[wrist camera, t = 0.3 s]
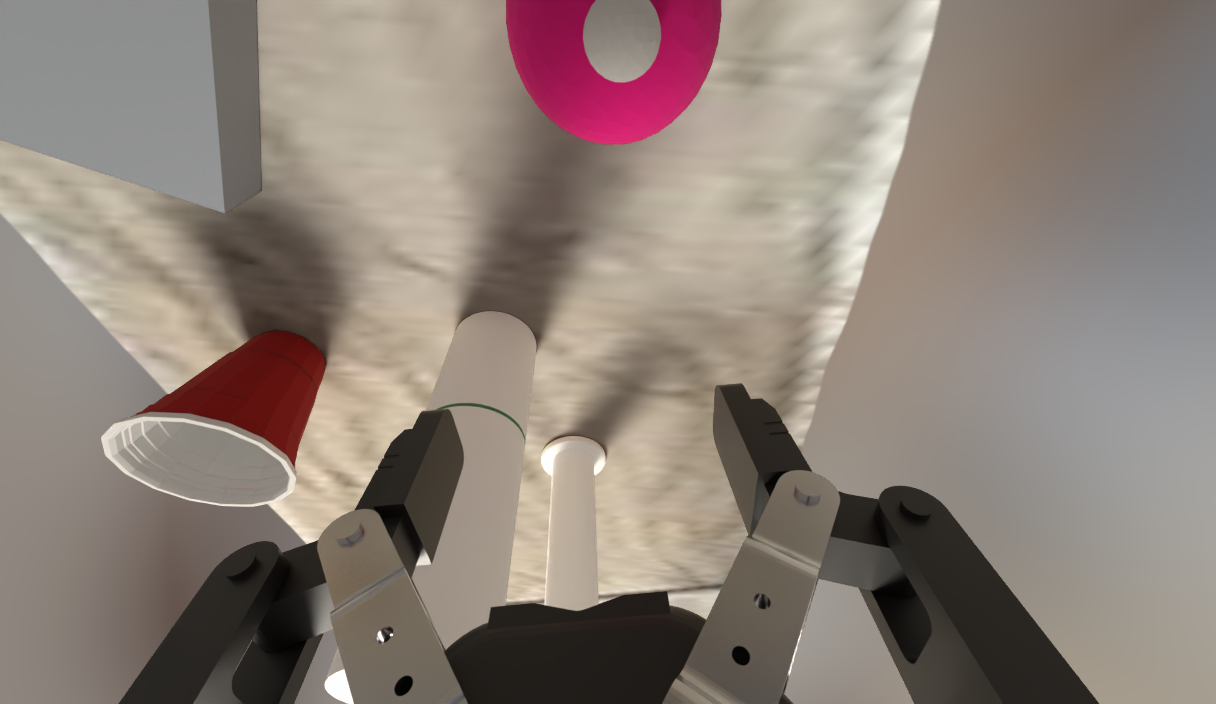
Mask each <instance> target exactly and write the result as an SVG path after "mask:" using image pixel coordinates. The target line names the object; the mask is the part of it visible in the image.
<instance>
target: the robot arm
mask: <svg viewBox="0 0 1216 704" xmlns="http://www.w3.org/2000/svg"><path fill="white" fill-rule="evenodd" d="M713 434H714V440H715V444H716V447H717V450H718V453H719V456H720V458H721V461H722V464H723V466H724V469H725V472H726V475H727V477H728V480H729V483H730V486H731V488H732V491H733V494H734V496H735V499H736V502H737V505H738V507H739V510H740V513H741V516H742V518H743V521H744V524H745V526H746V529H747V532H748V535H749V536H747V537H746V539H745V540H744V542H743V544H742V546H741V548H740V550H739V553H738V555H737V557H736V559H735V561H734V563H733V565H732V567H731V569H730V571H729V574H728V576H727V578H726V580H725V582H724V584H723V586H722V588H721V590H720V593H719V595H718V597H717V599H716V601H715V603H714V605H713V607H712V609H711V611H710V614H709V616H708V618H707V620H706V619H704V618H702V617H701V616H699V615H697V614H695V613H693V612H691V611H688V610H685V609H682V608H679V607H675V606H670V605H669V601H668V594H667V591H665V592H654V593H643V594H631V595H623V596H620V597H617V598H615V599H612V600H609V601H606V602H603V603H601V604H598V605H595V606H592V607H590V608H587V609H584V610H580V611H574V610H568V609H563V608H558V607H552V606H547V605H541V604H536V603H531V604H520V605H508V606H497V607H491V609H490V615H489V620H488V623H485V624H483V625H481V626H479V627H477V628H475V629H473V630H471V631H469V632H468V633H466V634H465V635H463V636H461V637H460V638H459V639H458V640H456V641H455V642H454V643H452V644H451V645H450V646H449V647H448V648H447V649H446V648H445V646H444V644H443V642H442V640H441V638H440V636H439V634H438V632H437V630H436V627H435V625H434V623H433V621H432V619H431V617H430V615H429V613H428V611H427V609H426V607H425V605H424V602H423V600H422V598H421V596H420V594H419V592H418V590H417V588H416V586H415V584H414V582H413V580H412V576H413V573H414V570H415V567H416V566H419V565H430V564H432V562H433V559H434V556H435V553H436V550H437V547H438V544H439V540H440V537H441V534H442V531H443V528H444V525H445V522H446V519H447V515H448V512H449V509H450V506H451V503H452V500H453V497H454V494H455V490H456V487H457V484H458V481H459V478H460V475H461V472H462V469H463V464H464V451H463V446H462V443H461V440H460V437H459V434H458V431H457V428H456V425H455V422H454V419H453V416H452V413H451V411H450V410H449V409H441V410H430V411H422V412H421V413H420V415H419V417H418V419H417V421H416V423H415V425H414V427H413V429H406V430H404V431H403V432H402V433H401V434H400V435H399V436H398V437H397V438H396V439H394V440H393V441H392V442H391V444H390V446H389V448H388V450H387V452H386V453H385V455H384V459H382V461H381V463H380V464H379V466H378V470H376V472H375V474H374V475H373V477H372V479H371V481H370V483H369V485H368V486H367V488H366V490H365V492H364V494H363V496H362V497H361V499H360V501H359V503H358V505H357V507H356V508H355V510H354V511H352V512H349V513H347V514H345V515H343V516H341V517H339V518H338V519H336V520H335V521H333V522H332V523H331V524H330V525H329V526H328V527H327V528H326V529H325V530H324V532H323V533H322V534H321V536H320V538H319V540H317V541H315V542H312V543H309V544H306V545H303V546H300V547H297V548H295V549H292V550H289V551H286V552H283V553H282V552H281V551H280V549H279V548H278V547H277V545H276V544H274V543H273V542H268V541H262V542H256V543H253V544H250V545H247V546H245V547H243V548H241V549H239V550H237V551H235V552H234V553H232V554H231V555H229V556H228V557H227V558H225V559H224V560H223V561H222V562H221V563H220V564H219V565H218V566H217V567H216V568H215V569H214V570H213V571H212V573H211V574H210V576H209V577H208V578H207V580H206V581H205V582H204V584H203V585H202V587H201V588H200V590H199V591H198V592H197V594H196V595H195V597H194V598H193V599H192V601H191V602H190V604H189V605H188V607H187V608H186V609H185V611H184V612H183V614H182V615H181V616H180V618H179V619H178V621H177V622H176V623H175V625H174V626H173V628H172V629H171V630H170V632H169V633H168V635H167V636H166V638H165V639H164V640H163V642H162V643H161V645H160V646H159V647H158V649H157V650H156V652H155V653H154V654H153V656H152V657H151V659H150V660H149V662H148V663H147V664H146V666H145V667H144V669H143V670H142V671H141V673H140V674H139V676H138V677H137V679H136V680H135V681H134V683H133V684H132V686H131V687H130V688H129V690H128V691H127V693H126V694H125V696H124V697H123V698H122V700H121V701H120V703H119V704H294V702H295V700H296V697H297V695H298V692H299V690H300V688H301V685H302V683H303V681H304V678H305V676H306V674H307V671H308V669H309V667H310V664H311V662H312V659H313V657H314V655H315V652H316V650H317V648H318V645H319V643H320V640H321V638H322V636H323V633H325V632H327V631H330V630H332V629H333V631H334V634H335V638H336V641H337V645H338V649H339V652H340V656H341V660H342V663H343V667H344V670H345V674H346V678H347V681H348V685H349V688H350V692H351V696H352V699H353V703H354V704H793V703H792V702H791V701H790V700H789V699H788V698H787V697H786V696H785V695H784V693H785V690H786V686H787V683H788V680H789V677H790V673H791V669H792V666H793V663H794V660H795V656H796V652H797V649H798V646H799V642H800V639H801V635H802V632H803V629H804V625H805V622H806V619H807V616H808V612H809V609H810V606H811V602H812V599H813V595H814V592H815V589H816V586H817V582H818V579H822V580H827V581H831V582H836V583H840V584H845V585H850V586H854V587H858V588H859V590H860V592H861V593H862V596H863V598H864V600H865V602H866V604H867V606H868V608H869V610H870V612H871V614H872V616H873V618H874V621H875V623H876V625H877V627H878V629H879V631H880V633H881V635H882V637H883V639H884V641H885V644H886V646H887V648H888V650H889V652H890V654H891V656H892V658H893V660H894V662H895V664H896V666H897V668H898V671H899V673H900V675H901V677H902V679H903V681H904V683H905V685H906V687H907V689H908V691H909V693H910V695H911V697H912V700H913V702H914V704H1099V703H1098V701H1097V700H1096V699H1095V698H1094V697H1093V695H1092V694H1091V693H1090V691H1089V690H1088V689H1087V687H1086V686H1085V685H1084V684H1083V682H1082V681H1081V680H1080V678H1079V677H1078V676H1077V675H1076V673H1075V672H1074V671H1073V670H1072V668H1071V667H1070V666H1069V664H1068V663H1067V662H1066V660H1065V659H1064V658H1063V657H1062V655H1061V654H1060V653H1059V652H1058V650H1057V649H1056V648H1055V647H1054V645H1053V644H1052V643H1051V641H1050V640H1049V639H1048V638H1047V636H1046V635H1045V634H1044V632H1043V631H1042V630H1041V628H1040V627H1039V626H1038V625H1037V623H1036V622H1035V621H1034V620H1033V618H1032V617H1031V616H1030V614H1029V613H1028V612H1027V611H1026V609H1025V608H1024V607H1023V605H1022V604H1021V603H1020V602H1019V600H1018V599H1017V598H1016V596H1015V595H1014V594H1013V593H1012V591H1011V590H1010V589H1009V587H1008V586H1007V585H1006V584H1005V582H1004V581H1003V580H1002V579H1001V577H1000V576H999V575H998V573H997V572H996V571H995V570H994V569H993V567H992V566H991V564H990V563H989V562H988V561H987V559H986V558H985V557H984V555H983V554H982V553H981V552H980V550H979V549H978V548H977V546H976V545H975V544H974V543H973V541H972V540H971V539H970V538H969V537H968V535H967V534H966V532H965V531H964V530H963V529H962V527H961V526H960V525H959V524H958V522H957V521H956V520H955V518H954V517H953V516H952V514H951V513H950V512H949V511H948V509H947V508H946V507H945V506H944V505H943V504H942V503H941V502H940V501H938V500H937V499H936V498H935V497H933V496H931V495H930V494H928V493H926V492H924V491H922V490H919V489H916V488H912V487H907V486H893V487H889V488H887V489H885V490H884V491H883V492H882V493H881V494H880V497H879V499H873V498H867V497H861V496H855V495H850V494H845V493H842V492H839V491H837V489H836V487H835V486H834V485H833V484H832V483H831V482H830V481H829V480H827V479H826V478H825V477H823V476H821V475H819V474H816V473H814V472H812V470H811V469H810V467H809V465H808V464H807V462H806V461H805V459H804V457H803V455H802V454H801V452H800V450H799V448H798V447H797V445H796V443H795V442H794V440H793V438H792V437H791V435H790V434H789V433H788V430H787V428H786V427H785V425H784V424H783V423H782V420H781V418H780V416H779V415H778V413H777V411H776V410H775V408H773V407H772V406H771V405H769V404H768V403H767V402H765V401H764V400H763V399H762V398H761V399H750V397H749V395H748V393H747V391H746V389H745V387H744V386H743V384H741V383H740V384H728V385H717V386H716V388H715V397H714V414H713ZM251 640H252V642H251ZM250 642H251V644H250ZM249 644H250V646H249V648H248V650H247V651H246V649H247V647H248V645H249ZM245 651H246V653H245ZM244 653H245V655H244V657H243V659H242V660H241V658H242V656H243V654H244ZM240 660H241V662H240ZM239 662H240V664H239ZM238 664H239V666H238V668H237V670H236V671H235V669H236V667H237V665H238ZM234 672H235V673H234Z"/></svg>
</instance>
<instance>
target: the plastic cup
mask: <svg viewBox="0 0 1216 704" xmlns="http://www.w3.org/2000/svg"><path fill="white" fill-rule="evenodd" d="M325 365H326V363H325V360H324V357H323V354H322V353H321V352H320V351H319V350H318V348H317V347H316V346H315V345H314V344H312V343H311V342H309V341H308V340H306V339H305V338H303V337H301V336H298V335H296V334H293V333H290V332H285V331H270V332H266V333H262V334H260V335H259V336H255V337H254V338H252V339H251V340H249V341H248V342H246V343H245V344H244V345H242V346H241V347H239V348H238V349H236V350H235V351H233V352H230V353H228V354H227V355H225V356H224V357H222V358H221V359H219V360H218V361H217V362H215V363H214V364H212V365H211V366H209V367H208V368H207V369H205V370H204V371H202V372H201V373H199V374H198V375H196V376H195V377H194V378H192V379H191V380H189V381H188V382H186V383H185V384H184V385H182V386H181V387H179V388H178V389H176V390H175V391H174V392H172V393H171V394H167V395H165V396H164V397H163V398H162V399H160V400H159V401H158V402H156V403H155V404H153V405H150V406H148V407H147V408H146V409H144V410H143V411H142V412H139V413H137V414H136V415H134V416H131V417H127V418H123V419H121V420H119V421H117V422H116V423H114V424H113V425H112V426H111V427H110V429H109V430H108V431H107V432H106V433H105V434H104V435H103V436H102V437H101V440H102V444H103V448H104V452H105V455H106V456H107V457H108V458H109V459H110V460H111V461H112V462H113V463H114V464H115V465H116V466H117V467H118V468H119V469H121V470H122V471H123V472H124V473H125V474H127V475H129V476H131V477H133V478H134V479H136V480H138V481H140V482H142V483H144V484H146V485H148V486H150V487H152V488H153V489H157V490H159V491H162V492H166V493H168V494H171V495H175V496H178V497H181V498H184V499H187V500H191V501H197V502H203V503H209V504H215V505H220V506H259V505H263V504H269V503H274V502H278V501H280V500H281V499H283V498H284V497H286V496H287V495H289V494H290V493H292V492H293V489H294V485H295V481H296V475H297V472H296V470H295V460H296V456H297V451H298V447H299V443H300V441H301V438H302V435H303V432H304V430H305V427H306V424H307V422H308V419H309V416H310V413H311V411H312V408H313V405H314V402H315V399H316V395H317V391H318V389H319V386H320V384H321V381H322V379H323V375H324V372H325Z"/></svg>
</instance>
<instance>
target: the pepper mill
mask: <svg viewBox="0 0 1216 704" xmlns="http://www.w3.org/2000/svg"><path fill="white" fill-rule="evenodd" d="M720 23H721V0H506V25H507V31H508V37H509V43H510V48H511V52H512V55H513V58H514V62H515V65H516V69H517V71H518V73H519V75H520V77H521V79H522V82H523V84H524V86H525V88H526V90H527V91H528V93H529V94H530V96H531V97H532V99H533V100H534V102H535V103H536V104H537V106H538V107H539V108H540V109H541V110H542V111H543V112H544V113H545V115H546V116H547V117H548V118H549V119H550V120H552V121H553V122H554V123H556V124H557V125H558V126H559V127H561V128H562V129H564V130H566V131H567V132H569V133H571V134H573V135H575V136H576V137H579V138H582V139H584V140H587V141H590V142H595V143H601V144H628V143H632V142H636V141H640V140H643V139H645V138H647V137H649V136H652V135H654V134H656V133H658V132H659V131H661V130H662V129H663V128H665V127H666V126H668V125H669V124H670V123H672V122H673V121H674V120H675V119H676V118H677V117H678V116H679V115H680V114H681V113H682V112H683V111H684V110H685V109H686V108H687V107H688V106H689V104H690V103H691V102H692V100H693V99H694V98H695V97H696V95H697V94H698V92H699V90H700V88H701V86H702V84H703V82H704V81H705V79H706V77H707V75H708V72H709V70H710V68H711V65H712V62H713V58H714V55H715V51H716V48H717V45H718V39H719V31H720Z"/></svg>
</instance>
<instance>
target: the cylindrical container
mask: <svg viewBox="0 0 1216 704" xmlns="http://www.w3.org/2000/svg"><path fill="white" fill-rule="evenodd" d="M536 348H537V345H536V339H535V337H534V335H533V333H532V331H531V330H530V329H529V327H528V326H527V325H526V324H525V323H524V322H522V321H521V320H519V319H518V318H516V317H514V316H512V315H509V314H506V313H502V312H495V311H486V312H479V313H476V314H473V315H471V316H469V317H467V318H466V319H464V320H463V321H462V322H461V323H460V324H459V325H458V327H457V329H456V331H455V334H454V336H453V339H452V342H451V344H450V347H449V350H448V353H447V355H446V358H445V361H444V363H443V366H442V369H441V371H440V374H439V377H438V380H437V382H436V385H435V388H434V390H433V393H432V396H431V398H430V401H429V404H428V406H427V409H426V411H430V410H441V409H449V410H450V411H451V413H452V416H453V419H454V422H455V425H456V428H457V431H458V434H459V437H460V440H461V443H462V446H463V451H464V464H463V469H462V472H461V475H460V478H459V481H458V484H457V487H456V490H455V494H454V497H453V500H452V503H451V506H450V509H449V512H448V515H447V519H446V522H445V525H444V528H443V531H442V534H441V537H440V540H439V544H438V547H437V550H436V553H435V556H434V559H433V562H432V564H430V565H419V566H416V567H415V570H414V573H413V576H412V580H413V582H414V584H415V586H416V588H417V590H418V592H419V594H420V596H421V598H422V600H423V602H424V605H425V607H426V609H427V611H428V613H429V615H430V617H431V619H432V621H433V623H434V625H435V627H436V630H437V632H438V634H439V636H440V638H441V640H442V642H443V644H444V646H445V648H446V649H447V648H448V647H449V646H450V645H451V644H452V643H454V642H455V641H456V640H458V639H459V638H460V637H461V636H463V635H465V634H466V633H468V632H469V631H471V630H473V629H475V628H477V627H479V626H481V625H483V624H485V623H488V620H489V615H490V609H491V607H497V606H505V605H506V597H507V588H508V580H509V572H510V564H511V556H512V547H513V539H514V531H515V523H516V515H517V506H518V498H519V490H520V482H521V474H522V466H523V457H524V449H525V441H526V432H527V424H528V416H529V408H530V399H531V391H532V383H533V374H534V366H535V358H536ZM325 689H326V690H327V692H328V693H329V694H331V695H332V696H333V697H335V698H337V699H339V700H341V701H343V702H346V703H349V704H354V703H353V699H352V696H351V692H350V688H349V685H348V681H347V678H346V674H345V670H344V667H343V663H342V660H341V656H340V652H339V649H338V648H337V651H336V654H335V657H334V659H333V662H332V665H331V667H330V670H329V673H328V676H327V678H326V681H325Z"/></svg>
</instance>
